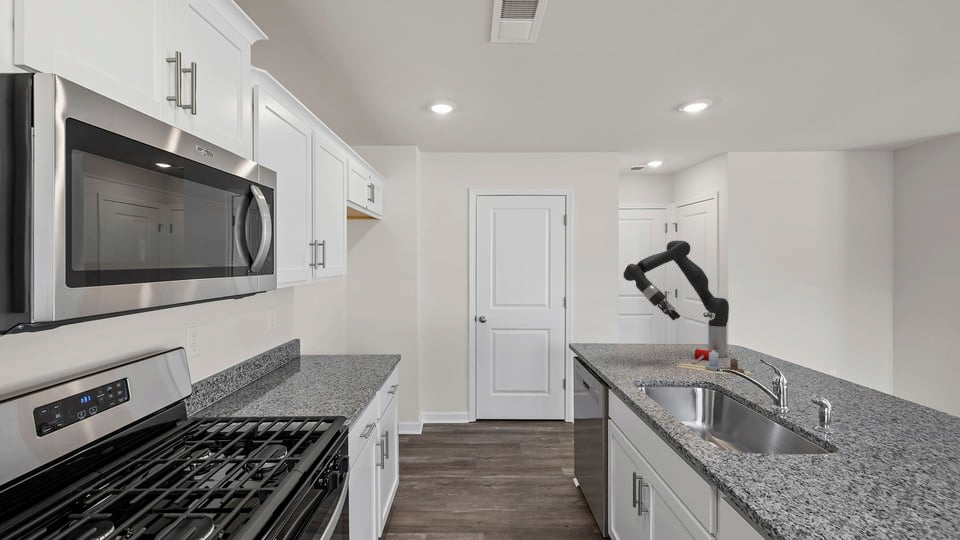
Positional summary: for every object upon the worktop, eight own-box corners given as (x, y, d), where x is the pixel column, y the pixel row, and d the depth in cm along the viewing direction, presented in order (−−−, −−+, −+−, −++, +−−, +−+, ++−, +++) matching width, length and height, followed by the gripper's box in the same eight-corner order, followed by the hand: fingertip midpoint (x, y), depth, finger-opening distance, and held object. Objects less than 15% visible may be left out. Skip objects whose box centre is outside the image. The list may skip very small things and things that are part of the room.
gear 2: (725, 369, 214) (725, 355, 214) (744, 371, 209) (745, 358, 209) (723, 372, 208) (723, 358, 208) (743, 375, 203) (743, 361, 203)
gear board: (680, 365, 228) (680, 362, 228) (750, 373, 210) (750, 370, 210) (674, 370, 218) (674, 367, 218) (747, 379, 200) (747, 376, 200)
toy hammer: (705, 369, 221) (705, 356, 221) (681, 365, 229) (681, 353, 229) (717, 361, 238) (717, 349, 238) (694, 358, 246) (694, 347, 246)
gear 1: (707, 366, 218) (707, 350, 218) (722, 368, 214) (722, 352, 214) (704, 369, 213) (704, 353, 212) (720, 371, 209) (720, 354, 208)
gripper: (655, 290, 222) (679, 315, 215) (662, 289, 233) (685, 312, 227) (644, 300, 225) (668, 324, 218) (652, 298, 237) (674, 321, 230)
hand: (677, 318), depth 223 cm, fingers open, 8 cm apart
